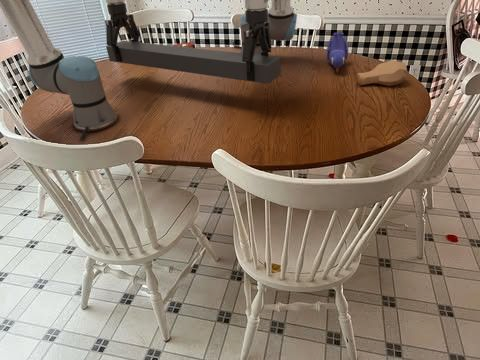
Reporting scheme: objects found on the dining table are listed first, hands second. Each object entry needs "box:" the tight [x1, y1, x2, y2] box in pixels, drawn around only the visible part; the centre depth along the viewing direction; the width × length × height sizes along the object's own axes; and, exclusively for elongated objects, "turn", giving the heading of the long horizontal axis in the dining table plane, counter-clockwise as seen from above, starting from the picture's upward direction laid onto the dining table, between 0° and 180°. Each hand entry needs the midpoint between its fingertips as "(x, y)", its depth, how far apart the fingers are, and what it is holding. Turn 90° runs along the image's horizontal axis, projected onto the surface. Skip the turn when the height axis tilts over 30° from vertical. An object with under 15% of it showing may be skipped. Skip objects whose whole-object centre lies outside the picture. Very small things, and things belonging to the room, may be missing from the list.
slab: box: [105, 40, 282, 85], centre depth 143 cm, size 79×10×6 cm, turn 60°
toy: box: [326, 31, 349, 74], centre depth 163 cm, size 10×17×25 cm
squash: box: [356, 59, 408, 87], centre depth 147 cm, size 11×20×9 cm, turn 92°
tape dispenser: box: [170, 41, 196, 48], centre depth 192 cm, size 18×5×20 cm
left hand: (128, 57), depth 159 cm, fingers closed on slab, 10 cm apart
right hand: (257, 75), depth 130 cm, fingers closed on slab, 10 cm apart
